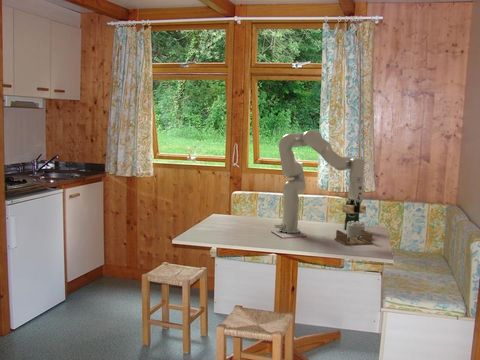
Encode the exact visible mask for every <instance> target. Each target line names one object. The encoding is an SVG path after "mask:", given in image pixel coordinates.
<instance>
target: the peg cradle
mask: <svg viewBox="0 0 480 360" xmlns="http://www.w3.org/2000/svg"><path fill="white" fill-rule="evenodd" d="M335 234H336V235H335V238H334V241H335V242H337V243H340V244H341V245H344V246H357V245H359V246H360V245H361V246H362V245H374V244H373V241H372V239H373V233H372V232H370V231H367V230H366V229H365V230H361V234H360V235H357V238H350V237H347V234H346V232H343V231H341V230H339V229H337V230H336V233H335Z"/></svg>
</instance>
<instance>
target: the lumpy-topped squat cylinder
mask: <svg viewBox="0 0 480 360" xmlns="http://www.w3.org/2000/svg"><path fill="white" fill-rule="evenodd" d="M365 228H366V225H365V223H364V222H363V221H361V222H360V220H359V221H356V222H354V221H348V223H347V228H346V229H345V231H346V232H345V233H346V234H347V238H348V237H350V238H357V235H360V234H361V230H365V231H366V229H365Z"/></svg>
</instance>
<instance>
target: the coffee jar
mask: <svg viewBox="0 0 480 360" xmlns="http://www.w3.org/2000/svg"><path fill="white" fill-rule="evenodd" d="M357 202H358V201H357ZM354 204H355V201H354ZM345 205H349V200H347V201H346V202H345ZM348 221H354V222H356V221H359V222H360V213H345V218H344V222H343V223H344V224H343V229H344V230H346V228H347V223H348Z"/></svg>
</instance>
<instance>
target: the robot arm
mask: <svg viewBox="0 0 480 360" xmlns="http://www.w3.org/2000/svg"><path fill="white" fill-rule="evenodd" d="M306 146H309V147H310V148H311V149H312V150H314V151H315V152H316V153H317V154H319V155H320V156H321V158H322V159H323V160H324V161H325V162H326V163H327V164H329V166H331V167H332V168H334V169H335V170H336V171H341V172H342V171H348V170H349V181H348V189H347V198H348V199H347V200H348V201H349V205H355V206H354V213H359V212H360V205H362V202H363V200H364V194H365V192H364V173H365V172H364V171H365V169H364V168H365V159H364V158H361V157H349V156H340V154H338V153H337V152H336V151H334V150H333V148H332V146H331V143H330V142H329V141H327V140H326V139H324V138H323V135H322V133H321V132H320V131H318V130H315V129H314V130H311V129H309V130H306V131H305V132H290V133H286V134H285V135H283V136H282V137H281V138H280V139H279V142H278V152H279V157H280V158H279V159H280V165H281V171H282V172H281V173H282V175H283V176H284V177H285V178H286V179H290V180H287V181H286V182H285V183H284V184H283V186H282V196H283V204H282V206H283V207H282V220H281V222H280V223H279V224H274V229H279V231H280V232H281V231H282V233H285V232H287V233H286V234H297V233H298V234H299V233H300V231H301V229H300V228H298V224H299V213H300V212H299V209H300V208H299V207H300V200H299V198H300V197H299V195H301V194H303V193H304V192H305V190H306V179H305V171H304V168H303V166H302V164H301V163H300V162H299V161H298V162H297V161H296V160H295V153H294V151H293V148H299V147H300V148H301V147H306ZM354 201H355V204H354ZM357 201H358V202H357ZM359 214H360V213H359Z"/></svg>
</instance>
